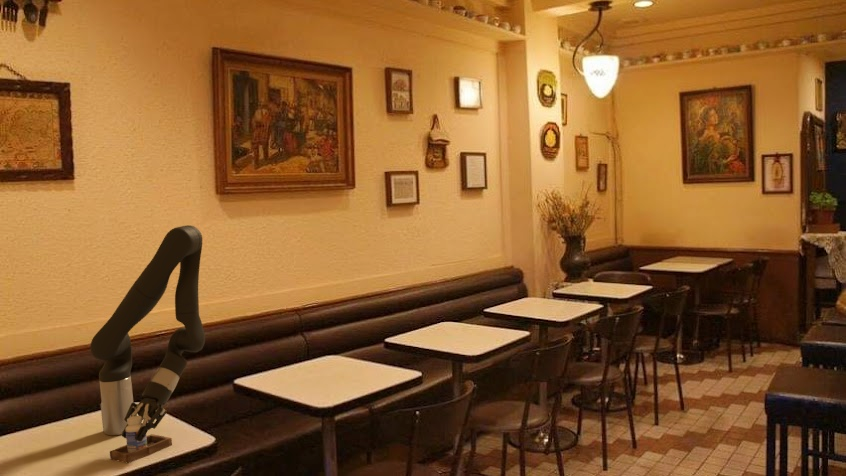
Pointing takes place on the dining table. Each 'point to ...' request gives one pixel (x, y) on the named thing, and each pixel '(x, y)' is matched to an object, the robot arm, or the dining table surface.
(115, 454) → the brown wooden rectangular frame
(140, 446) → the pill bottle
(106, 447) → the dining table surface
